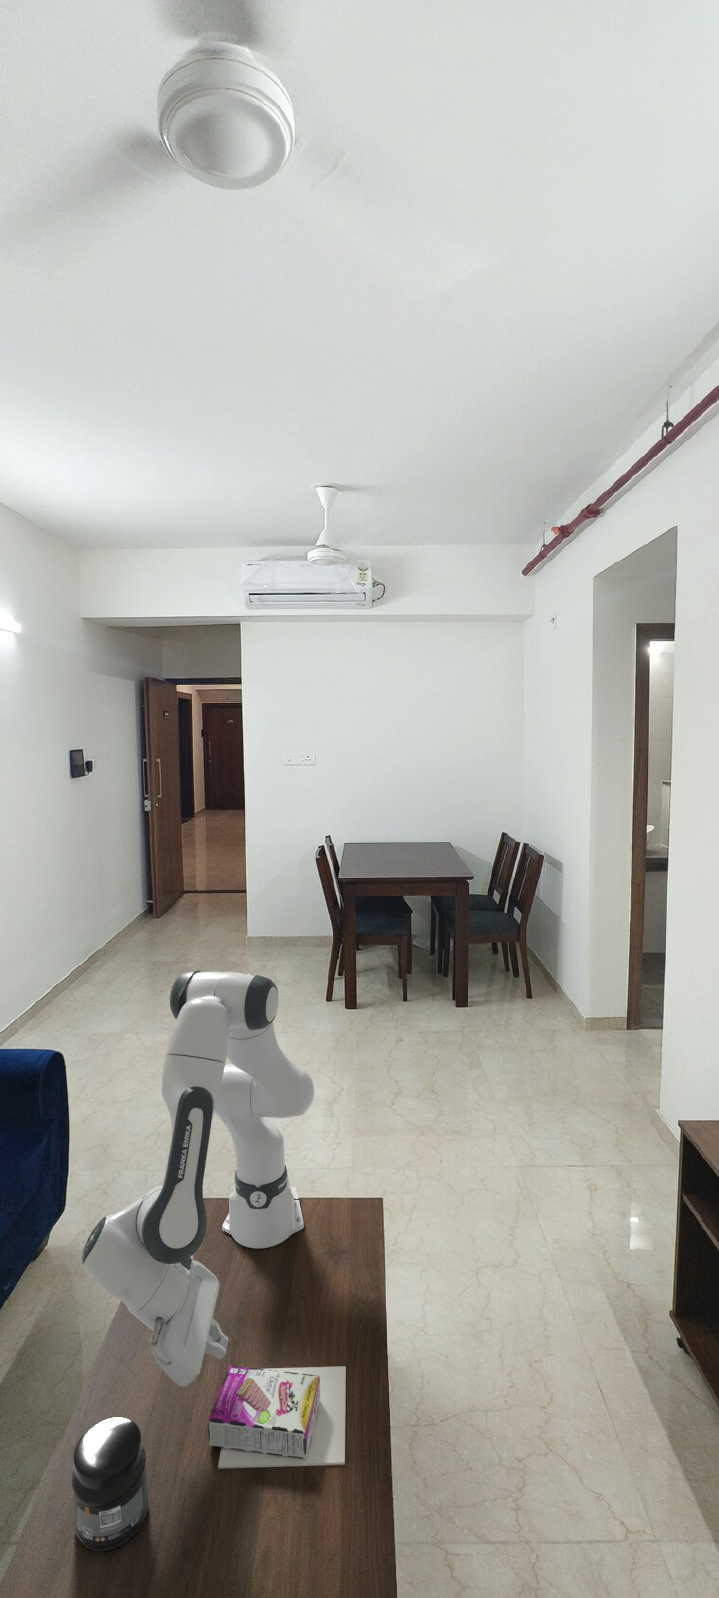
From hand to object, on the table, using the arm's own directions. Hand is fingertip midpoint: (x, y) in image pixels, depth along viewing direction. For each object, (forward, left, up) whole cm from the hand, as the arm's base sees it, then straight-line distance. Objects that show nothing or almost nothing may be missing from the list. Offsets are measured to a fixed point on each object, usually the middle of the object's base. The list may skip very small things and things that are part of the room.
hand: (225, 1349), depth 129 cm
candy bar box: (+1, -2, -9) cm, 10 cm away
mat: (0, +10, -12) cm, 16 cm away
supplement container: (+16, -15, -13) cm, 25 cm away
